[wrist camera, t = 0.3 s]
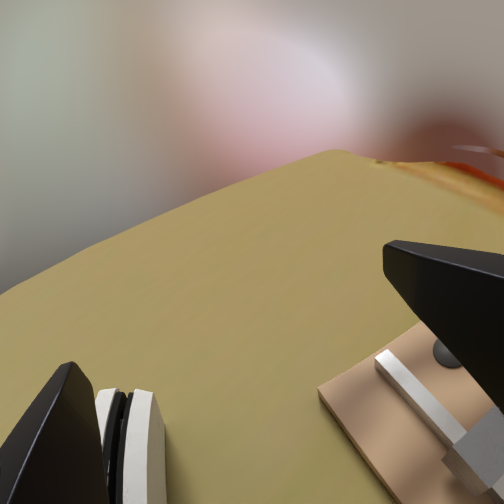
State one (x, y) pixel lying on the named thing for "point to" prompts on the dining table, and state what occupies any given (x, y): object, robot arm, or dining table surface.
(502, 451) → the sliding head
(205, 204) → the dining table surface
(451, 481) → the brown wooden board
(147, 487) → the grey curved block
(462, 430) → the rail
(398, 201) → the dining table surface
